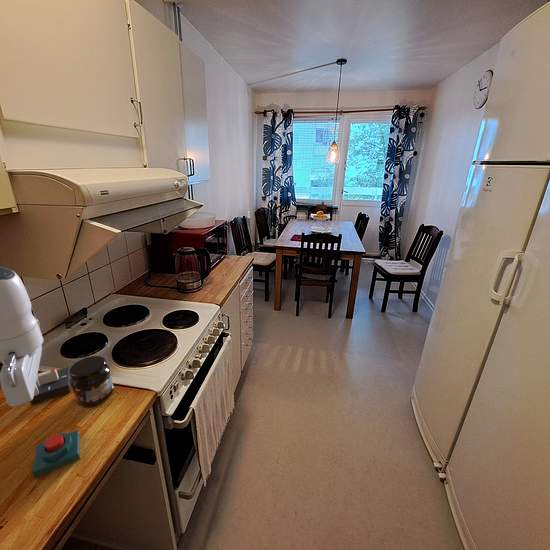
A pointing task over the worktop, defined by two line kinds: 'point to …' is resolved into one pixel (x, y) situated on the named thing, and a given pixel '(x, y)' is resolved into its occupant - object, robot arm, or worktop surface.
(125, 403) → the worktop surface
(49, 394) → the stove panel
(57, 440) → the timer button
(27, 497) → the worktop surface
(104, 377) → the supplement container
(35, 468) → the teal square base
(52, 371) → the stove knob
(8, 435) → the worktop surface
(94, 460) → the worktop surface
